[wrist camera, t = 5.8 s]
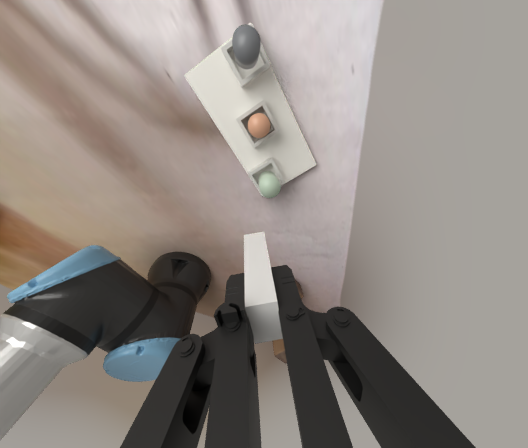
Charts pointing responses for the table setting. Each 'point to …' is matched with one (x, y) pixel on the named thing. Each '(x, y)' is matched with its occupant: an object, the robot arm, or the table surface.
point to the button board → (244, 106)
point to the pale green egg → (269, 184)
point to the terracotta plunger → (259, 125)
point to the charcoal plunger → (246, 46)
